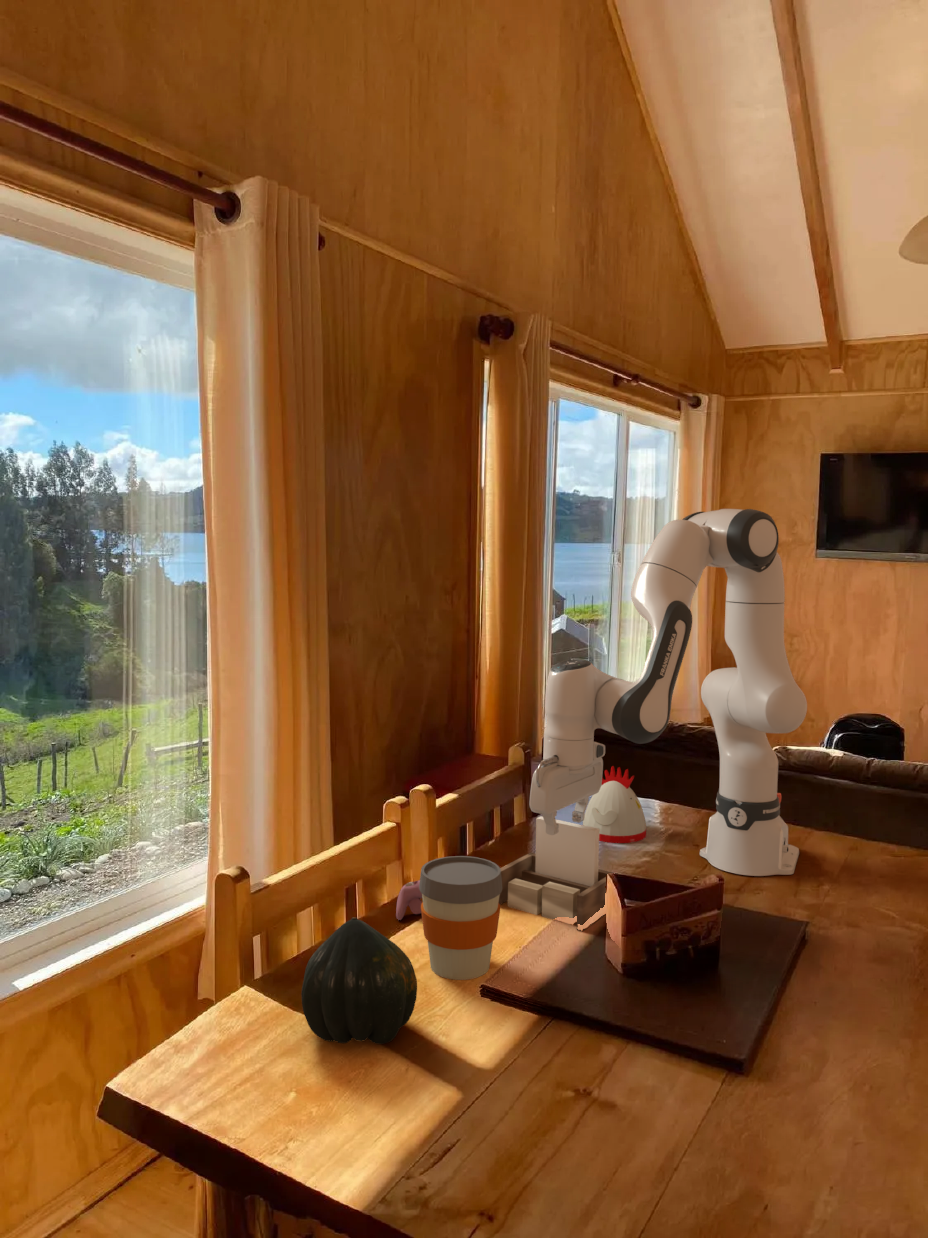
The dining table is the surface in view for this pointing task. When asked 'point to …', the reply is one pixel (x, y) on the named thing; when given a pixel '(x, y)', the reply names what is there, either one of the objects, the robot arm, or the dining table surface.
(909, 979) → the dining table surface
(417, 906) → the video game controller
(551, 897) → the birch offcut
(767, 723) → the robot arm
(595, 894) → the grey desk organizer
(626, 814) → the kitchen timer
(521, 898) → the birch offcut
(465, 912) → the reusable coffee cup
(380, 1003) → the squash
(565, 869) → the white panel
